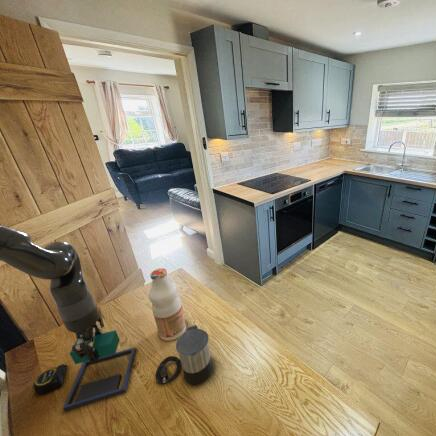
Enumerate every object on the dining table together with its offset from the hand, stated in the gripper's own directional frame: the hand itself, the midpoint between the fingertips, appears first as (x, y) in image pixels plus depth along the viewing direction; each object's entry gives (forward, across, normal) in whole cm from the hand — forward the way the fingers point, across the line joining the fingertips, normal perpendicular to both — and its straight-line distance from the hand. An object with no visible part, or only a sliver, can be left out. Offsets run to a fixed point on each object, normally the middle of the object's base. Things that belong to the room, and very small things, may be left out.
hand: (98, 350), depth 73 cm
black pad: (+10, +6, 0) cm, 12 cm away
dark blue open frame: (+10, +2, 0) cm, 10 cm away
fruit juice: (+10, -10, +19) cm, 24 cm away
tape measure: (+10, -2, -14) cm, 17 cm away
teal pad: (0, 0, 0) cm, 0 cm away
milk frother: (+10, +9, +24) cm, 28 cm away
